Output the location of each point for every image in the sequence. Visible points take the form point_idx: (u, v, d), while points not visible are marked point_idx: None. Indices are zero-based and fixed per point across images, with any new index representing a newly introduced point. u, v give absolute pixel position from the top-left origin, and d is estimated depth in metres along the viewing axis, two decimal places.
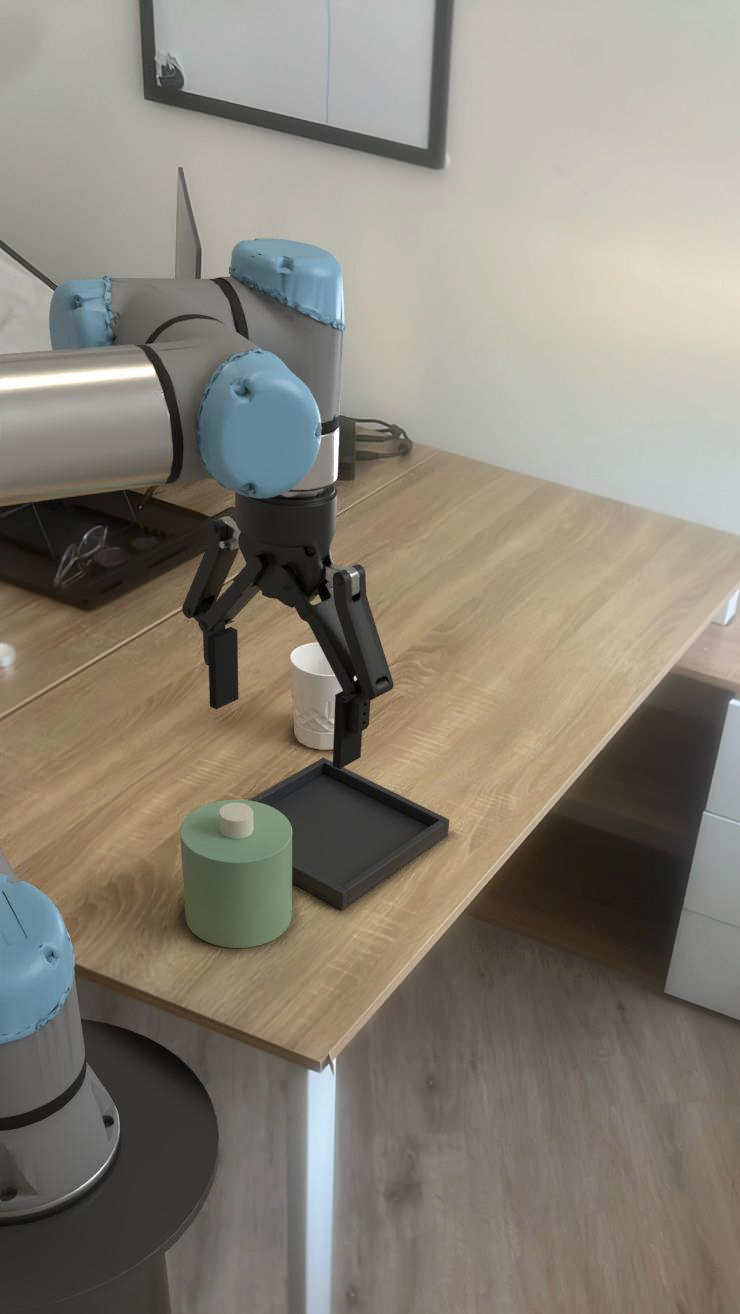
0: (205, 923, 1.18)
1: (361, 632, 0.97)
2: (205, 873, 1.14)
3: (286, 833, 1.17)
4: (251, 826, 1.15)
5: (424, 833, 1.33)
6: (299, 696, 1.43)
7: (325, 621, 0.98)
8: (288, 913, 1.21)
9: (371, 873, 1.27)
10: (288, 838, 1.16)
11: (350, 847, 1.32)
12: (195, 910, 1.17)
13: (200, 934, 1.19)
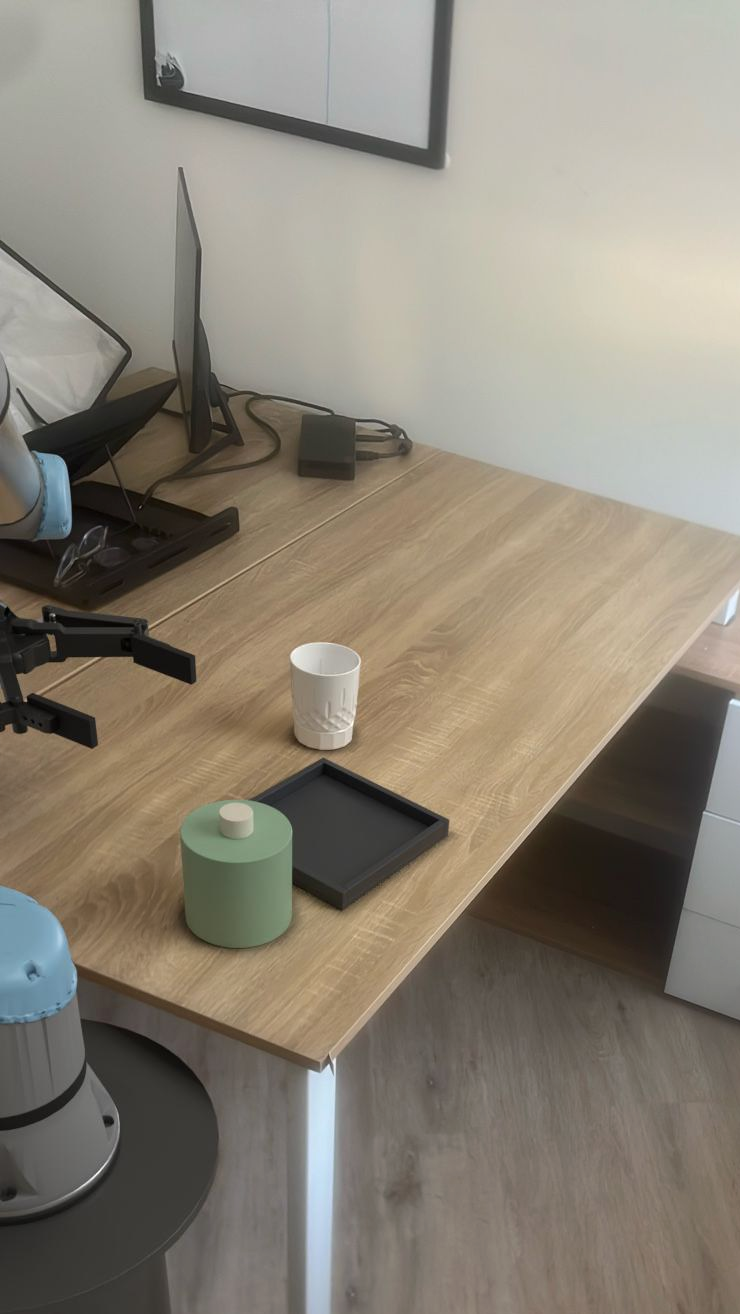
0: (205, 923, 1.18)
1: None
2: (205, 873, 1.14)
3: (286, 833, 1.17)
4: (251, 826, 1.15)
5: (424, 833, 1.33)
6: (299, 696, 1.43)
7: None
8: (288, 913, 1.21)
9: (371, 873, 1.27)
10: (288, 838, 1.16)
11: (350, 847, 1.32)
12: (195, 910, 1.17)
13: (200, 934, 1.19)
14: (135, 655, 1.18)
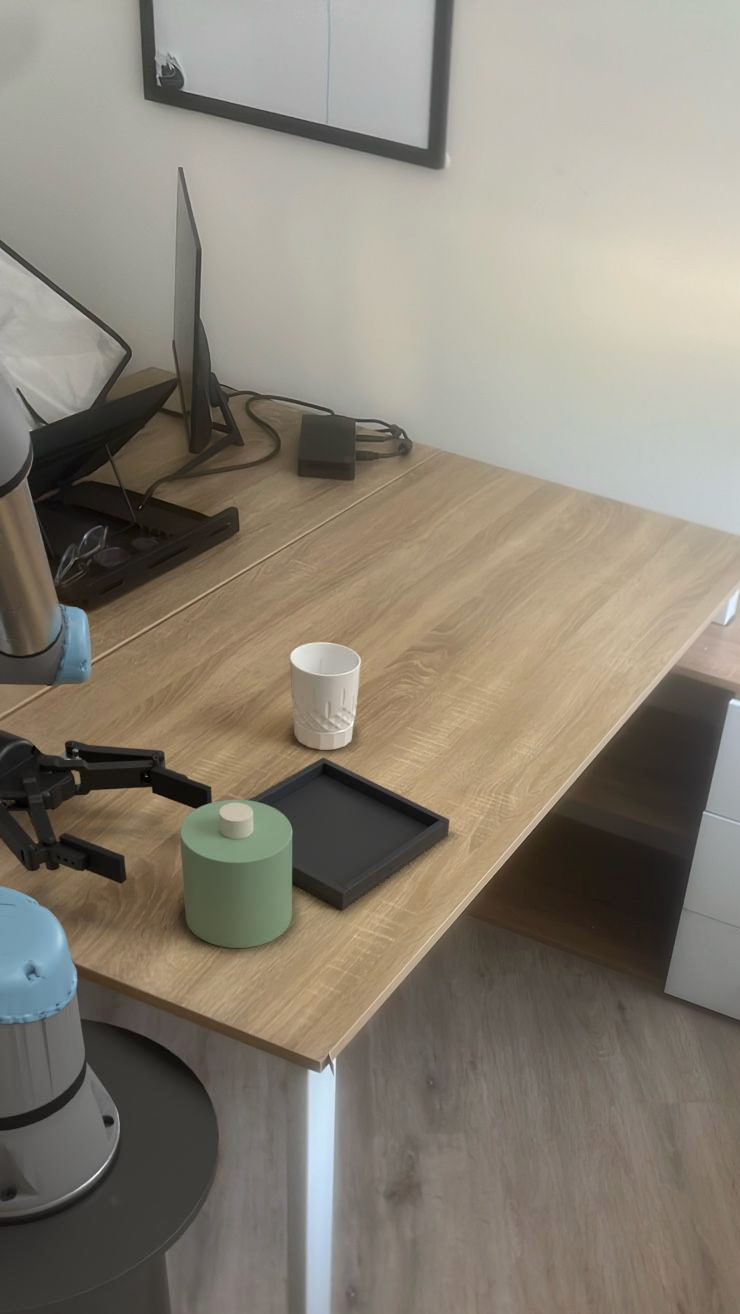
0: (205, 923, 1.18)
1: None
2: (205, 873, 1.14)
3: (286, 833, 1.17)
4: (251, 826, 1.15)
5: (424, 833, 1.33)
6: (299, 696, 1.43)
7: None
8: (288, 913, 1.21)
9: (371, 873, 1.27)
10: (288, 838, 1.16)
11: (350, 847, 1.32)
12: (195, 910, 1.17)
13: (200, 934, 1.19)
14: (154, 786, 1.27)
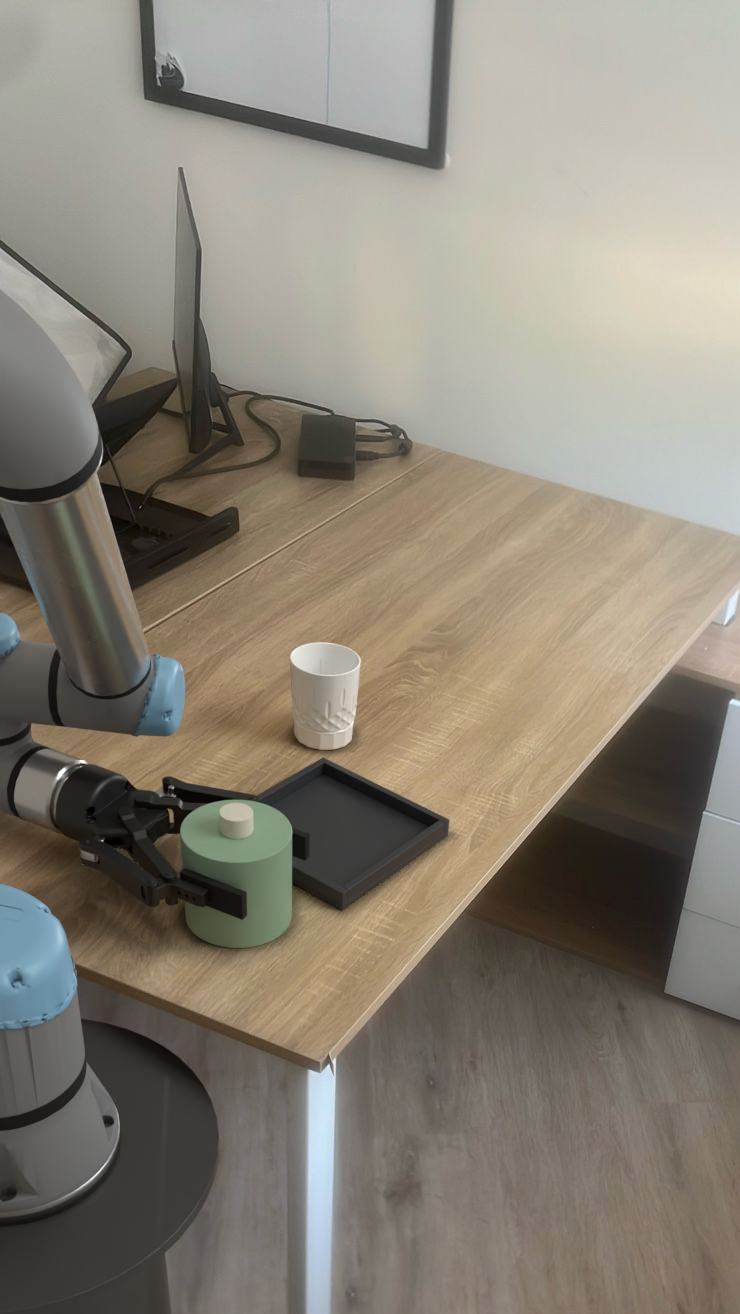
0: (205, 923, 1.18)
1: None
2: (205, 873, 1.14)
3: (286, 833, 1.17)
4: (251, 826, 1.15)
5: (424, 833, 1.33)
6: (299, 696, 1.43)
7: None
8: (288, 913, 1.21)
9: (371, 873, 1.27)
10: (288, 838, 1.16)
11: (350, 847, 1.32)
12: (195, 910, 1.17)
13: (200, 934, 1.19)
14: None
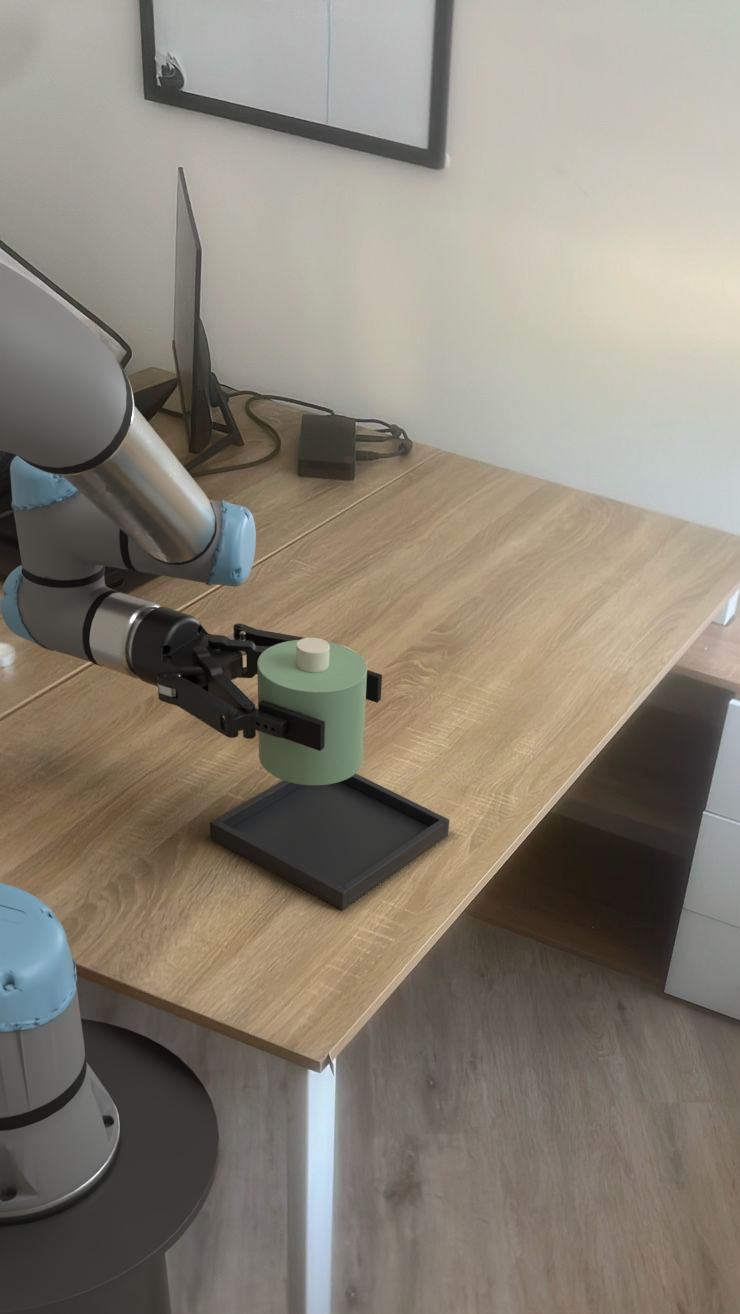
0: (280, 759, 1.19)
1: None
2: (283, 704, 1.15)
3: (361, 669, 1.18)
4: (327, 660, 1.17)
5: (424, 833, 1.33)
6: None
7: None
8: (360, 754, 1.22)
9: (371, 873, 1.27)
10: (364, 672, 1.18)
11: (350, 847, 1.32)
12: (271, 746, 1.19)
13: (275, 772, 1.20)
14: None
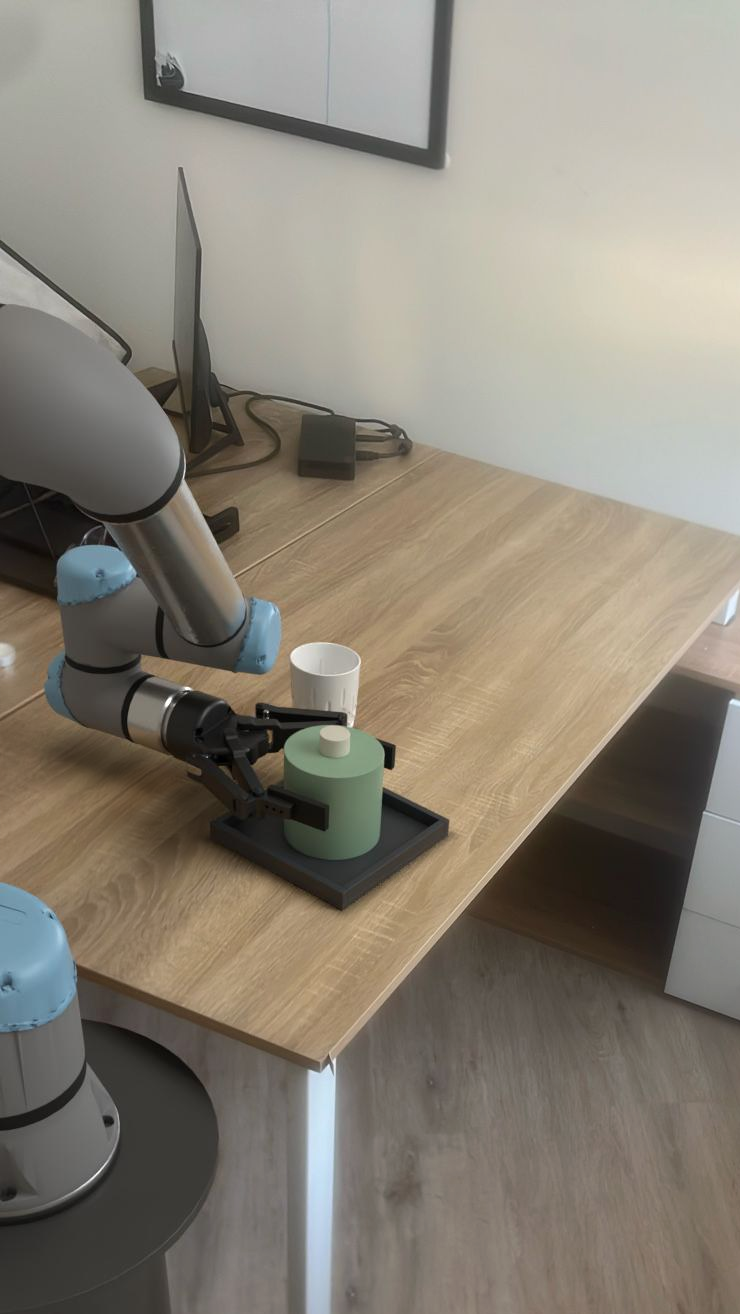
0: (304, 836, 1.29)
1: None
2: (308, 788, 1.25)
3: (379, 754, 1.28)
4: (348, 746, 1.27)
5: (424, 833, 1.33)
6: (299, 696, 1.43)
7: None
8: (378, 829, 1.32)
9: (371, 873, 1.27)
10: (382, 758, 1.28)
11: None
12: (296, 824, 1.29)
13: (299, 847, 1.30)
14: None
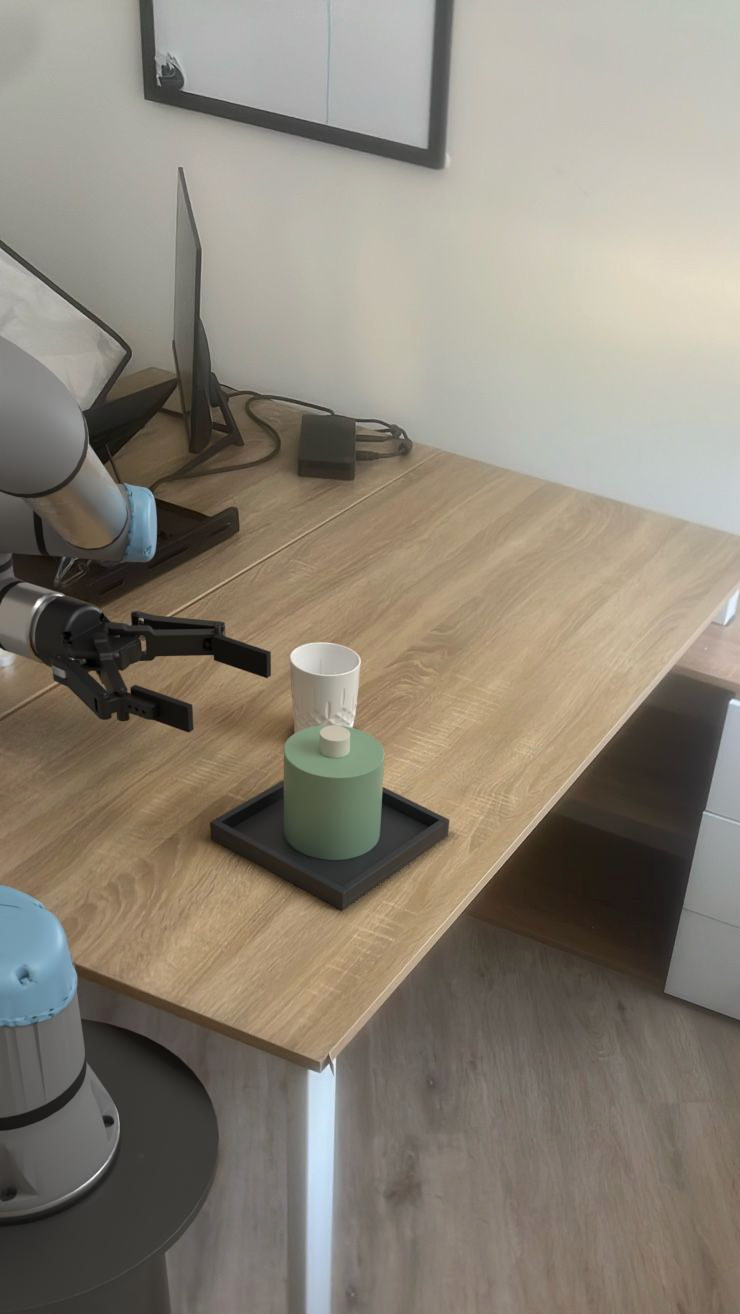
0: (304, 836, 1.29)
1: None
2: (308, 788, 1.25)
3: (379, 754, 1.28)
4: (348, 746, 1.27)
5: (424, 833, 1.33)
6: (299, 696, 1.43)
7: None
8: (378, 829, 1.32)
9: (371, 873, 1.27)
10: (382, 758, 1.28)
11: None
12: (296, 824, 1.29)
13: (299, 847, 1.30)
14: (215, 653, 1.33)
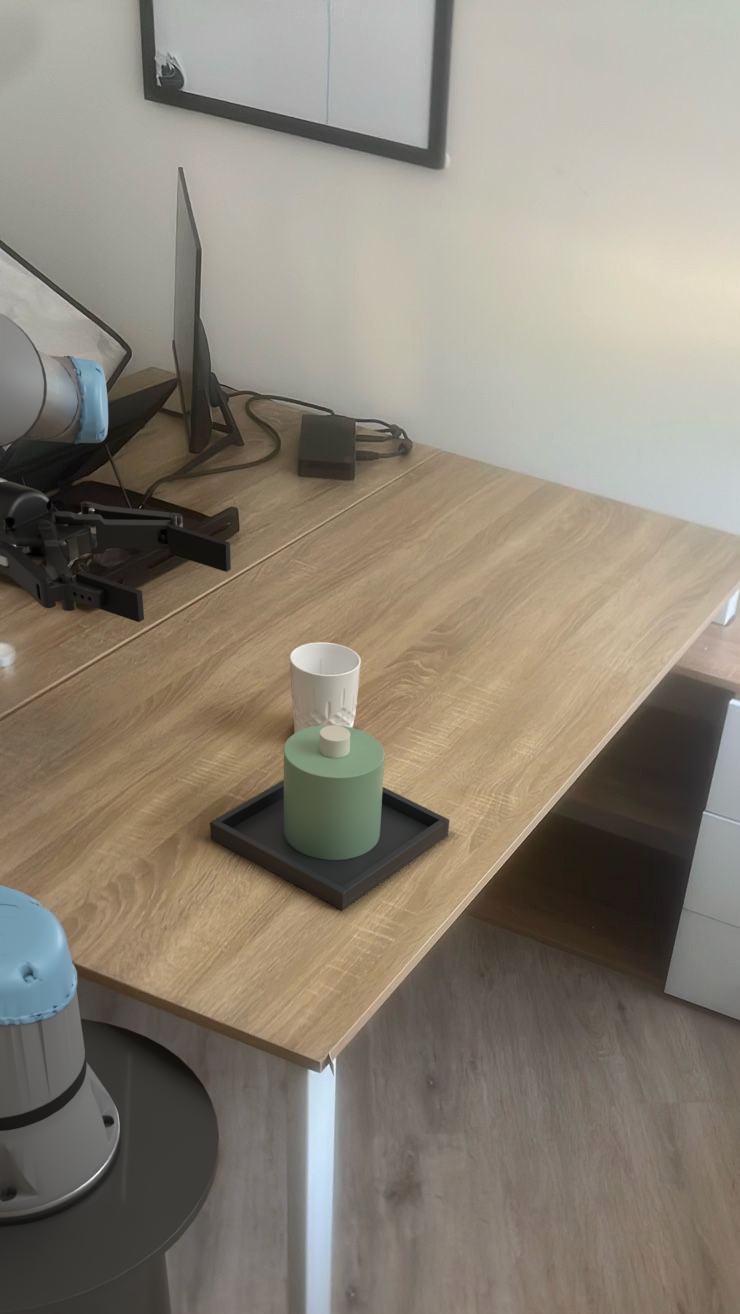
0: (304, 836, 1.29)
1: None
2: (308, 788, 1.25)
3: (379, 754, 1.28)
4: (348, 746, 1.27)
5: (424, 833, 1.33)
6: (299, 696, 1.43)
7: None
8: (378, 829, 1.32)
9: (371, 873, 1.27)
10: (382, 758, 1.28)
11: None
12: (296, 824, 1.29)
13: (299, 847, 1.30)
14: (171, 546, 1.24)
